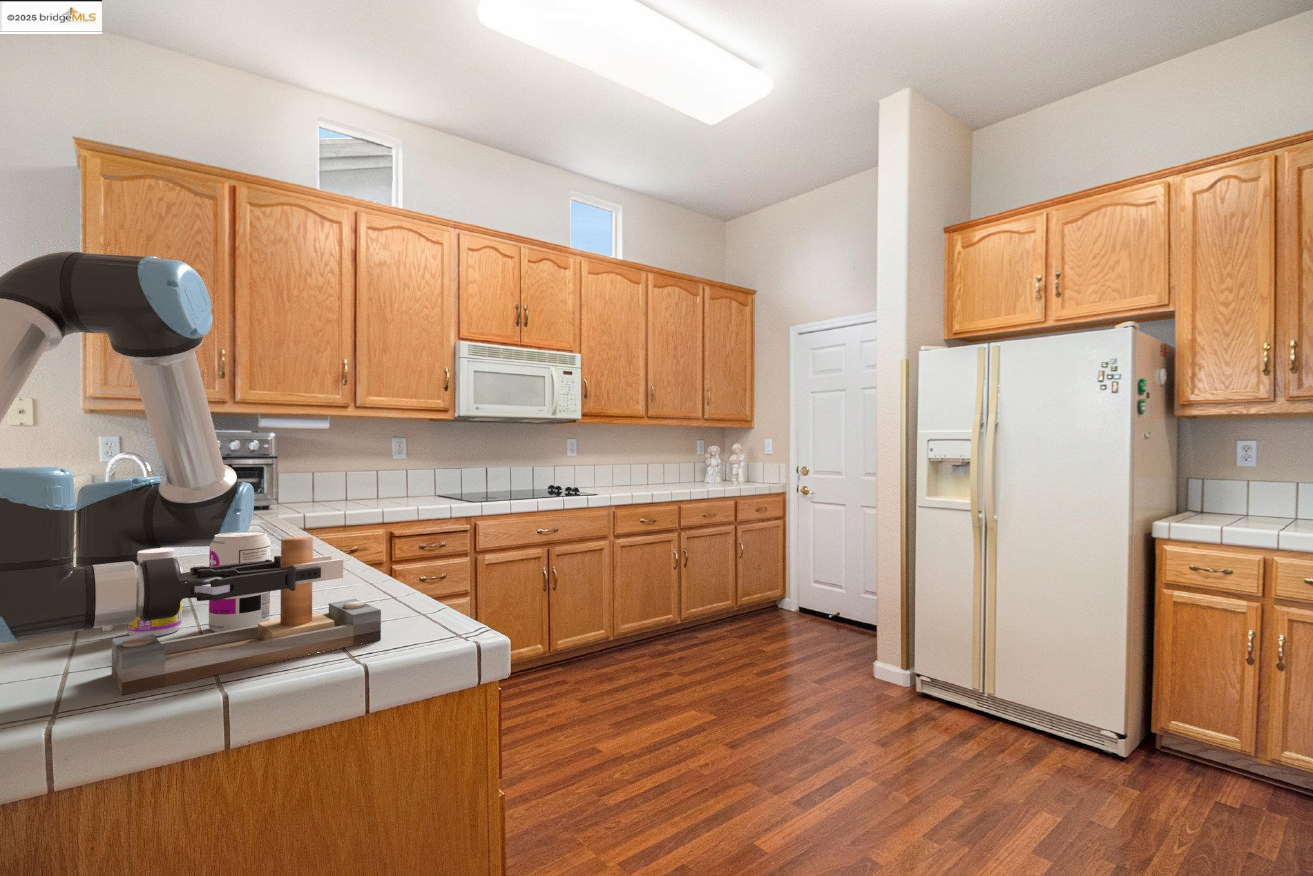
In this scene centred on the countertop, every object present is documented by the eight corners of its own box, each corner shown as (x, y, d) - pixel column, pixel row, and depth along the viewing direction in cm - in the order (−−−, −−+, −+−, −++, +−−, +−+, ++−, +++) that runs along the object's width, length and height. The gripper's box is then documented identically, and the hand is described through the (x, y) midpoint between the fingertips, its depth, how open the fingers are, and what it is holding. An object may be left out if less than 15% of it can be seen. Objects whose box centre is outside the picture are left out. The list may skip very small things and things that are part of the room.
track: (111, 674, 82) (112, 635, 82) (354, 627, 103) (355, 596, 103) (122, 695, 75) (122, 653, 75) (380, 640, 96) (380, 607, 96)
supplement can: (205, 637, 98) (206, 538, 98) (213, 624, 105) (214, 532, 105) (267, 630, 101) (268, 535, 101) (271, 618, 109) (272, 529, 109)
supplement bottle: (117, 636, 98) (118, 552, 98) (164, 625, 104) (165, 546, 105) (145, 641, 96) (146, 554, 96) (191, 629, 102) (192, 548, 102)
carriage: (257, 636, 92) (258, 539, 92) (317, 625, 98) (318, 533, 98) (272, 647, 87) (273, 544, 88) (334, 635, 93) (335, 538, 93)
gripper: (127, 609, 86) (316, 583, 103) (149, 635, 74) (358, 600, 91) (128, 553, 86) (316, 535, 103) (150, 570, 74) (358, 547, 91)
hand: (335, 566), depth 97 cm, fingers closed on carriage, 4 cm apart
